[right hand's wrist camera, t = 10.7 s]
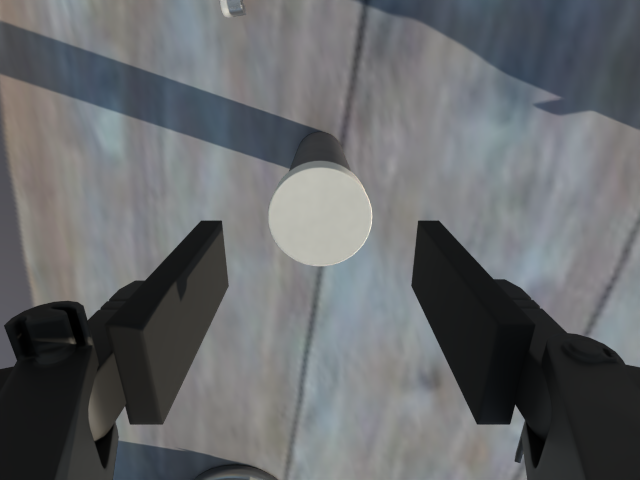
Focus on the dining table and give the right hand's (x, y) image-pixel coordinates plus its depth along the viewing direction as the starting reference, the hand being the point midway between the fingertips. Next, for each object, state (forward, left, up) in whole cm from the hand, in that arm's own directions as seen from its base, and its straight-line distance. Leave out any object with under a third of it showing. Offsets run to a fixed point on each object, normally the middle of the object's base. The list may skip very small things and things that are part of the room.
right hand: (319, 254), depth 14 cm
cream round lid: (0, 0, -5) cm, 5 cm away
